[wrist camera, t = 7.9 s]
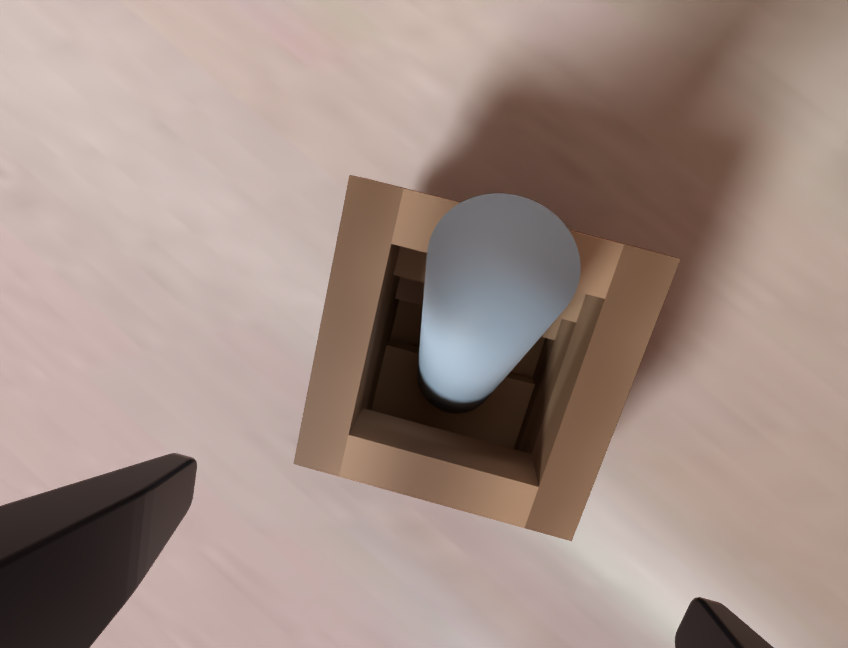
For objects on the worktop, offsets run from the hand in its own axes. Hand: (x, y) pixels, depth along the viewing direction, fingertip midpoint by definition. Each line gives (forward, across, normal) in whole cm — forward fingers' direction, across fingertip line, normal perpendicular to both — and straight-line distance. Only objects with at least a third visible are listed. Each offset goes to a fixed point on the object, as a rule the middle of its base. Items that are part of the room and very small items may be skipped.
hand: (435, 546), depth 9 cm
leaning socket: (+12, 0, 0) cm, 12 cm away
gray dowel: (+11, 0, +1) cm, 11 cm away
